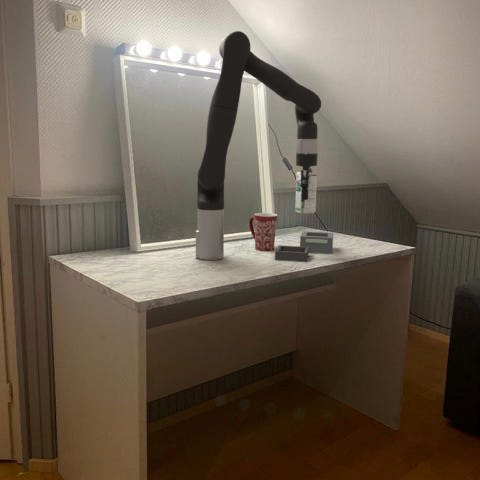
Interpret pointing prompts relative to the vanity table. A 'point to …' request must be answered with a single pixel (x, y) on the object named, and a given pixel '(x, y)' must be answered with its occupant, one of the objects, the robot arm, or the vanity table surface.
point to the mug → (264, 230)
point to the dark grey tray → (292, 253)
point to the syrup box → (310, 203)
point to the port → (317, 242)
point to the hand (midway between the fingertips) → (305, 198)
